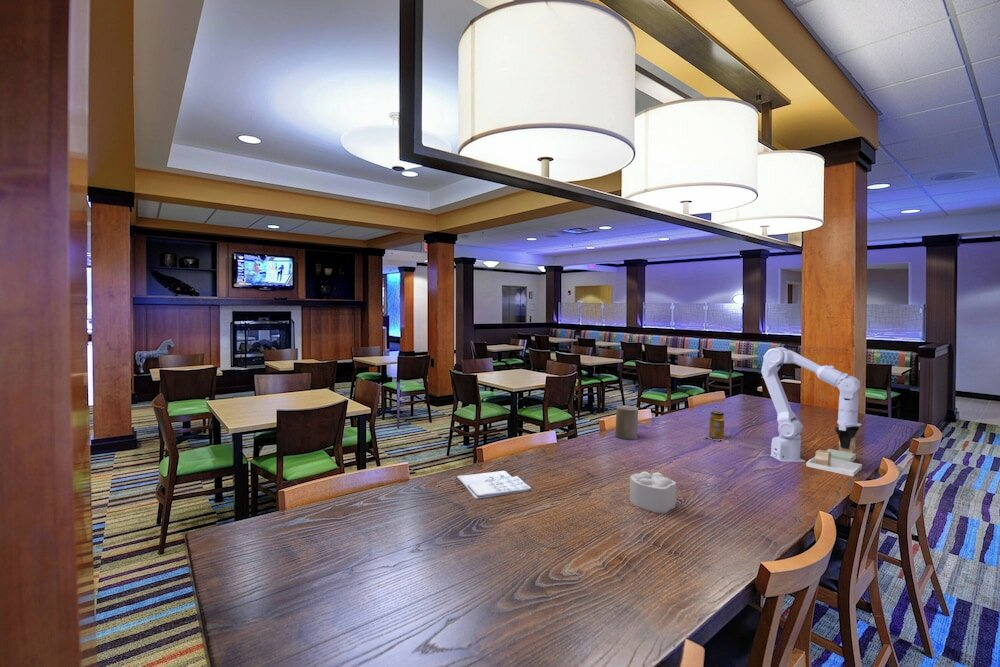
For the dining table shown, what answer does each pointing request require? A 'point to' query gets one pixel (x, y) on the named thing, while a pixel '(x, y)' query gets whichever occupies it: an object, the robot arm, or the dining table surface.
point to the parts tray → (837, 466)
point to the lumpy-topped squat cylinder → (652, 492)
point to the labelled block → (851, 447)
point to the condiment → (716, 425)
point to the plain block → (823, 458)
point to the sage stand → (842, 455)
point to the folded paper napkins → (492, 484)
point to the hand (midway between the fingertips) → (846, 446)
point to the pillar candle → (626, 422)
